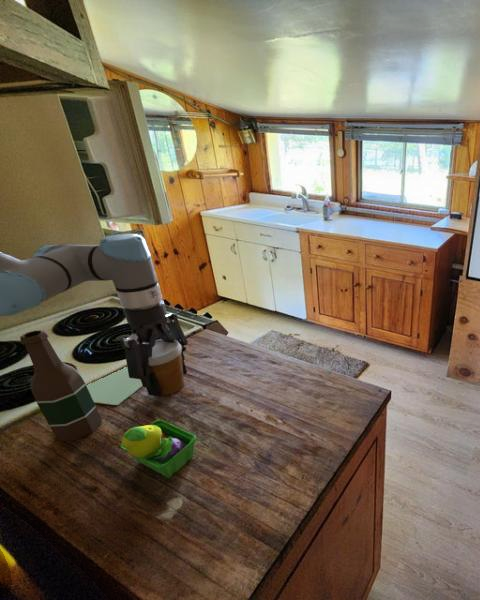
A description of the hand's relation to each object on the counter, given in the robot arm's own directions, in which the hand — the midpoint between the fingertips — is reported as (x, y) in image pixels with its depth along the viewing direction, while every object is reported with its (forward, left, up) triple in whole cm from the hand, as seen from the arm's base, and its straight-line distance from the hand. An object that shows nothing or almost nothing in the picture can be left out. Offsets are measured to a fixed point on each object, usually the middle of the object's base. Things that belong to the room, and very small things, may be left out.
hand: (169, 383), depth 83 cm
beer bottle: (-9, -15, -1) cm, 18 cm away
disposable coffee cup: (0, 0, -1) cm, 1 cm away
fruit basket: (+15, -20, -1) cm, 25 cm away
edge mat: (-14, -1, -1) cm, 14 cm away
